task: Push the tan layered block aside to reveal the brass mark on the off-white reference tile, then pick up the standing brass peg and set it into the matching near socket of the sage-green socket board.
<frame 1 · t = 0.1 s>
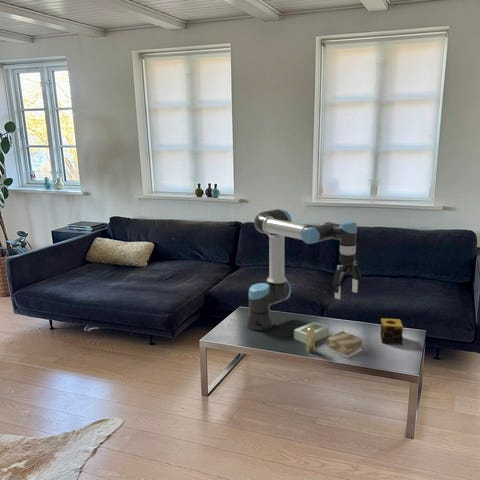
hand: (346, 295, 223), 28 cm above the table, fingers open, 13 cm apart
candle: (390, 340, 236), on the table
socket board: (311, 337, 241), on the table
tan layered block: (344, 342, 225), point 4 cm above the table, slide at 0.0 cm
peg: (310, 350, 226), on the table
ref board: (344, 350, 226), on the table
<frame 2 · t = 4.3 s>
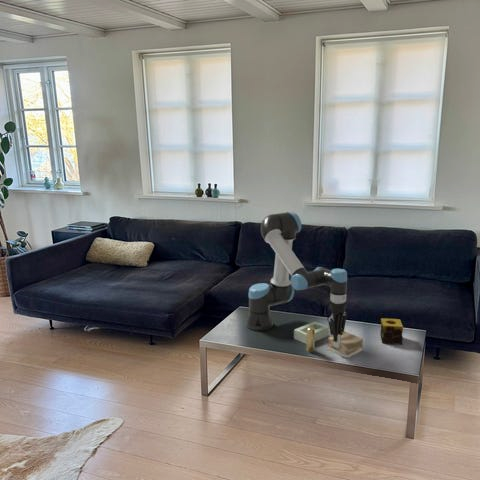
hand: (336, 346, 221), 4 cm above the table, fingers closed
tan layered block: (345, 342, 226), point 4 cm above the table, slide at 0.4 cm, touching gripper
everything else where it was.
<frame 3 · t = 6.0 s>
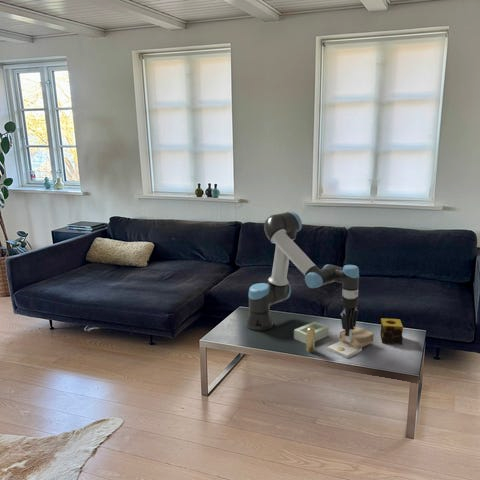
hand: (348, 341, 227), 4 cm above the table, fingers closed
tan layered block: (356, 337, 231), point 4 cm above the table, slide at 9.6 cm, touching gripper
everything else where it was.
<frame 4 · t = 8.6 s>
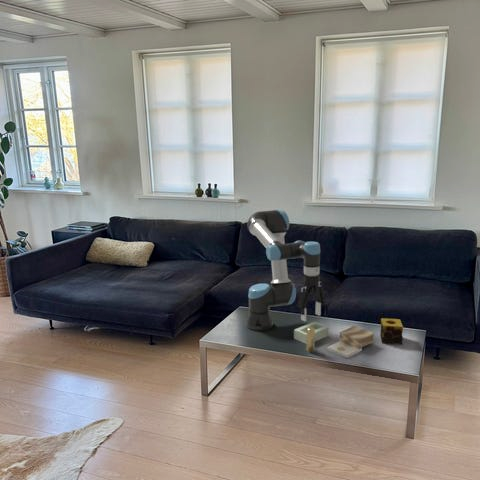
hand: (310, 317, 222), 18 cm above the table, fingers open, 10 cm apart
tan layered block: (356, 337, 231), point 4 cm above the table, slide at 9.7 cm
everything else where it was.
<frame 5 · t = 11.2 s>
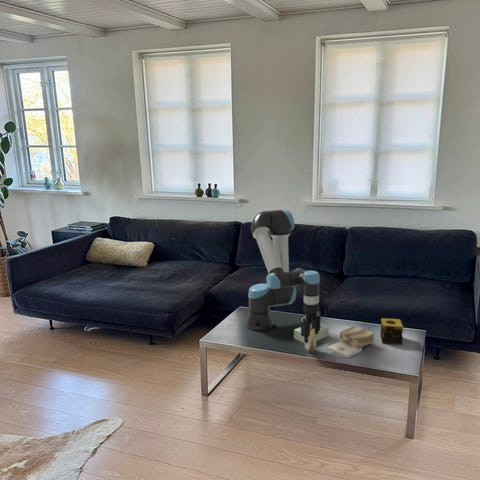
hand: (310, 346, 226), 2 cm above the table, fingers closed on peg, 4 cm apart
peg: (310, 350, 227), on the table, touching gripper
everything else where it was.
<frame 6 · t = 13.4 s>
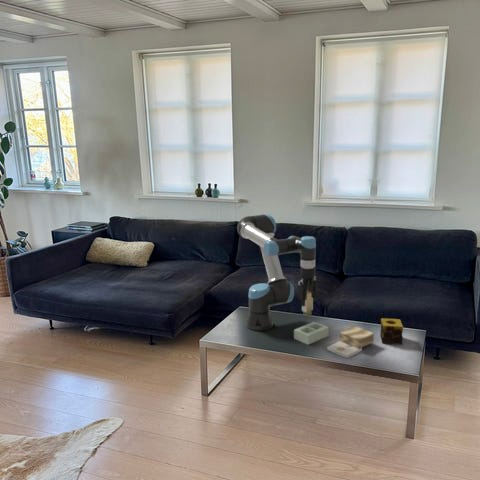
hand: (307, 310, 236), 16 cm above the table, fingers closed on peg, 4 cm apart
peg: (307, 314, 236), point 14 cm above the table, touching gripper
everything else where it was.
when the fingers open (6 cm above the table, at t = 16.0 s): peg drops 1 cm, resting on socket board.
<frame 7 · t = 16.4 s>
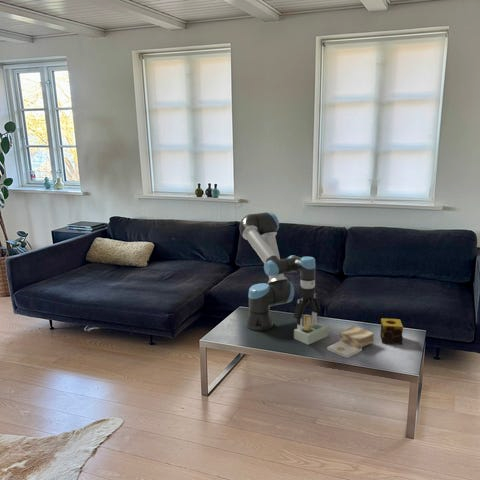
hand: (307, 326, 238), 7 cm above the table, fingers open, 10 cm apart
peg: (307, 337, 239), point 1 cm above the table, touching socket board
everything else where it was.
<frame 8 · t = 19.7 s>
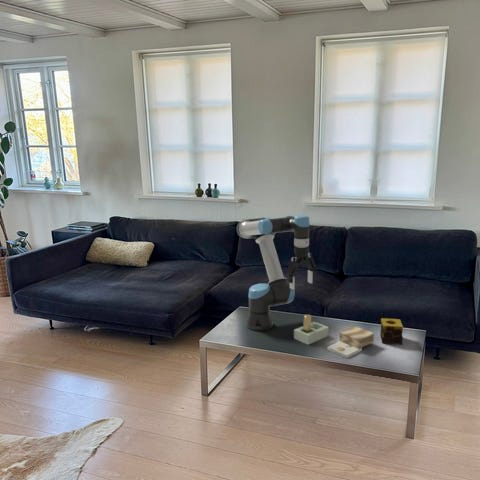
hand: (301, 285, 235), 29 cm above the table, fingers open, 13 cm apart
nothing on the table moved.
at the end: tan layered block slide at 9.7 cm; peg 0.1 cm from the target spot on the socket board, point 1.0 cm above the socket board's base; peg tilted 1° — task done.
